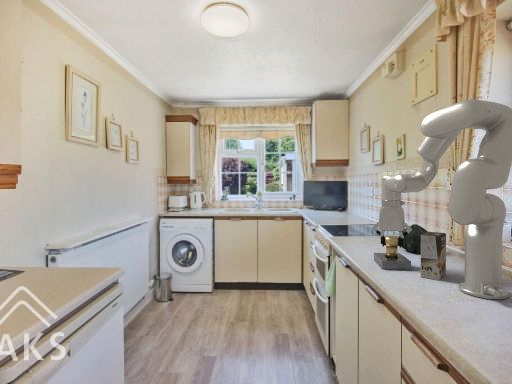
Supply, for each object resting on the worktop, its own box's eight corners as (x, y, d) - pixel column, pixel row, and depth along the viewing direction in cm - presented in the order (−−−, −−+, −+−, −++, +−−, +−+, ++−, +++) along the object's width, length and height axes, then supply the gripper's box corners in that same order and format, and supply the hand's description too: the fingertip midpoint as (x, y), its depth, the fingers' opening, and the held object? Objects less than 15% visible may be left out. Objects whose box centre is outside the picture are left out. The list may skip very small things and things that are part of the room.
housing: (411, 270, 120) (411, 261, 120) (382, 269, 122) (382, 260, 121) (399, 260, 134) (399, 253, 134) (373, 260, 135) (373, 252, 135)
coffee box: (439, 280, 107) (439, 236, 106) (420, 277, 111) (420, 234, 111) (446, 274, 113) (446, 232, 113) (427, 271, 118) (427, 231, 117)
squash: (418, 236, 160) (404, 217, 157) (443, 243, 146) (429, 221, 142) (402, 256, 158) (387, 236, 154) (426, 264, 144) (411, 243, 140)
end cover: (399, 259, 123) (399, 238, 123) (383, 257, 126) (383, 237, 126) (399, 255, 129) (399, 236, 128) (384, 254, 131) (384, 235, 131)
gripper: (414, 203, 126) (414, 246, 127) (370, 203, 134) (371, 243, 134) (414, 205, 119) (415, 249, 120) (368, 204, 127) (369, 246, 128)
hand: (391, 246), depth 127 cm, fingers closed on end cover, 6 cm apart
